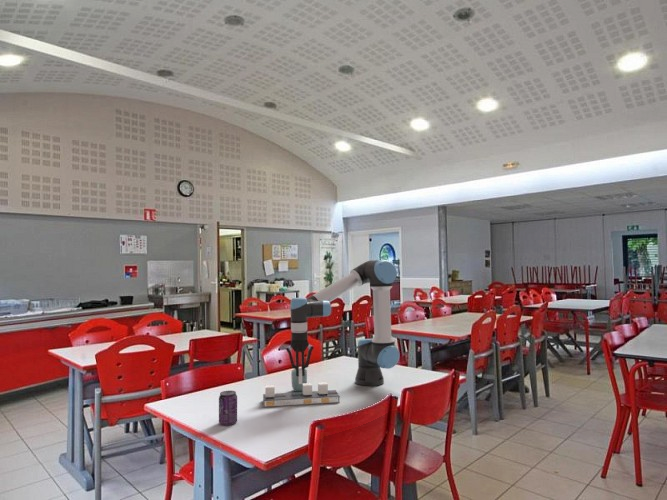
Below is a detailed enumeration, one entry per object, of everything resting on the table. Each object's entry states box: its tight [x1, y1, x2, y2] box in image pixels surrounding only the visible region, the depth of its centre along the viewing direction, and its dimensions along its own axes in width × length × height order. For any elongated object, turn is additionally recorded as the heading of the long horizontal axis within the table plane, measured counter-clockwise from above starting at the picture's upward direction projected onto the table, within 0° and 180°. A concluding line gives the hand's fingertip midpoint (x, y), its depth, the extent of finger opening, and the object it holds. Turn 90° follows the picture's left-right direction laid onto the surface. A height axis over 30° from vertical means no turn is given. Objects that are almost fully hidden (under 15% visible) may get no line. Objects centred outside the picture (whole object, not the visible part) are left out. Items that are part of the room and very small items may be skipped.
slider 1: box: [264, 384, 276, 397], centre depth 203 cm, size 4×4×4 cm
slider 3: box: [317, 381, 329, 394], centre depth 207 cm, size 4×4×4 cm
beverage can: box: [218, 390, 238, 426], centre depth 177 cm, size 7×7×12 cm
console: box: [262, 389, 340, 408], centre depth 205 cm, size 34×10×3 cm, turn 100°
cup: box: [290, 368, 308, 392], centre depth 224 cm, size 8×8×10 cm
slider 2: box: [302, 382, 313, 395], centre depth 206 cm, size 4×4×4 cm
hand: (300, 383), depth 205 cm, fingers closed
